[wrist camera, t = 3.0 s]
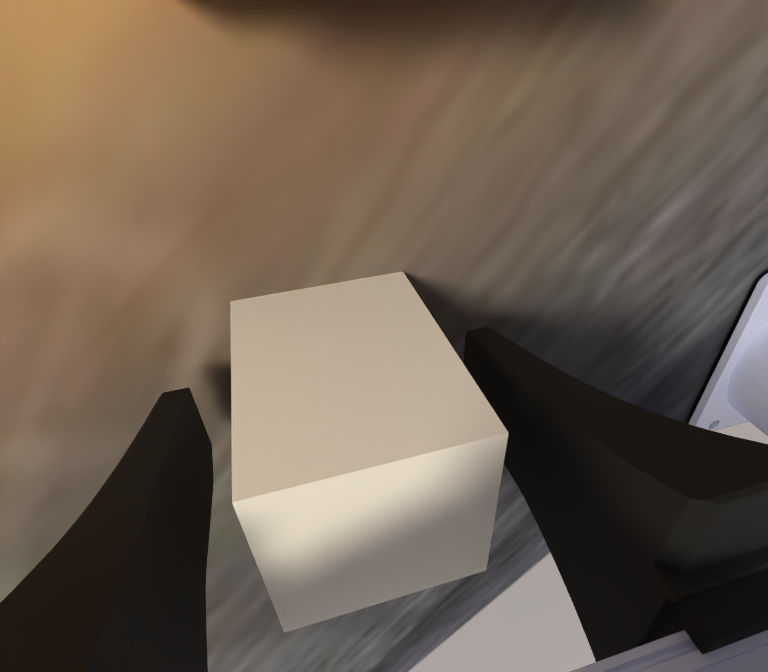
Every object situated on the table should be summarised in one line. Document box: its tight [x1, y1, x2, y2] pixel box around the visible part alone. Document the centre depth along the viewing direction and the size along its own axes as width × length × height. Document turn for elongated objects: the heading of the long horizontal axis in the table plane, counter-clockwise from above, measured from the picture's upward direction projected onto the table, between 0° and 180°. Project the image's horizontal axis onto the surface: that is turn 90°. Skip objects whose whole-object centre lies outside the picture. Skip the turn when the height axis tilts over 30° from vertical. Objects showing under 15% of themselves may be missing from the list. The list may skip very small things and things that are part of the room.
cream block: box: [231, 272, 509, 633], centre depth 11 cm, size 4×4×6 cm
